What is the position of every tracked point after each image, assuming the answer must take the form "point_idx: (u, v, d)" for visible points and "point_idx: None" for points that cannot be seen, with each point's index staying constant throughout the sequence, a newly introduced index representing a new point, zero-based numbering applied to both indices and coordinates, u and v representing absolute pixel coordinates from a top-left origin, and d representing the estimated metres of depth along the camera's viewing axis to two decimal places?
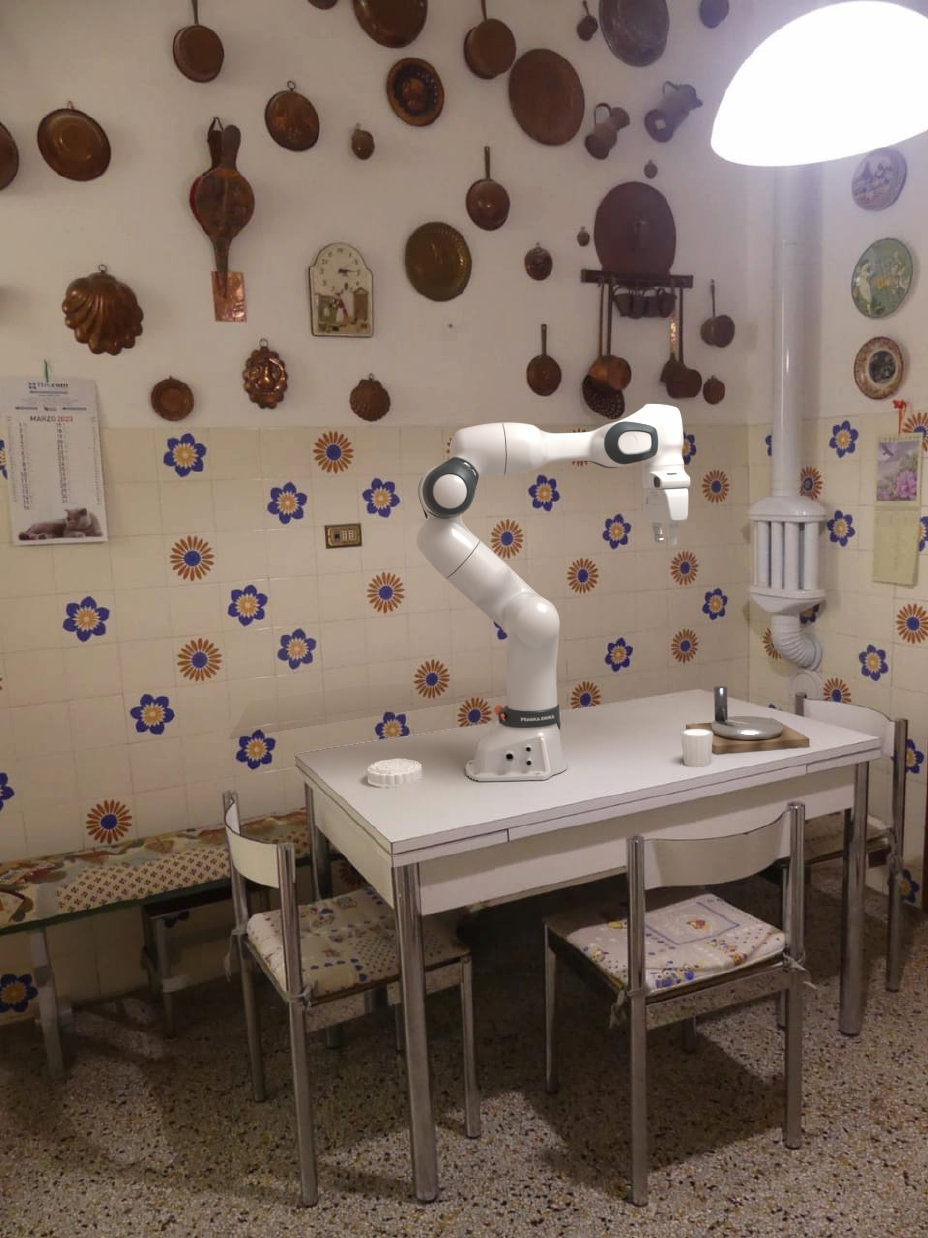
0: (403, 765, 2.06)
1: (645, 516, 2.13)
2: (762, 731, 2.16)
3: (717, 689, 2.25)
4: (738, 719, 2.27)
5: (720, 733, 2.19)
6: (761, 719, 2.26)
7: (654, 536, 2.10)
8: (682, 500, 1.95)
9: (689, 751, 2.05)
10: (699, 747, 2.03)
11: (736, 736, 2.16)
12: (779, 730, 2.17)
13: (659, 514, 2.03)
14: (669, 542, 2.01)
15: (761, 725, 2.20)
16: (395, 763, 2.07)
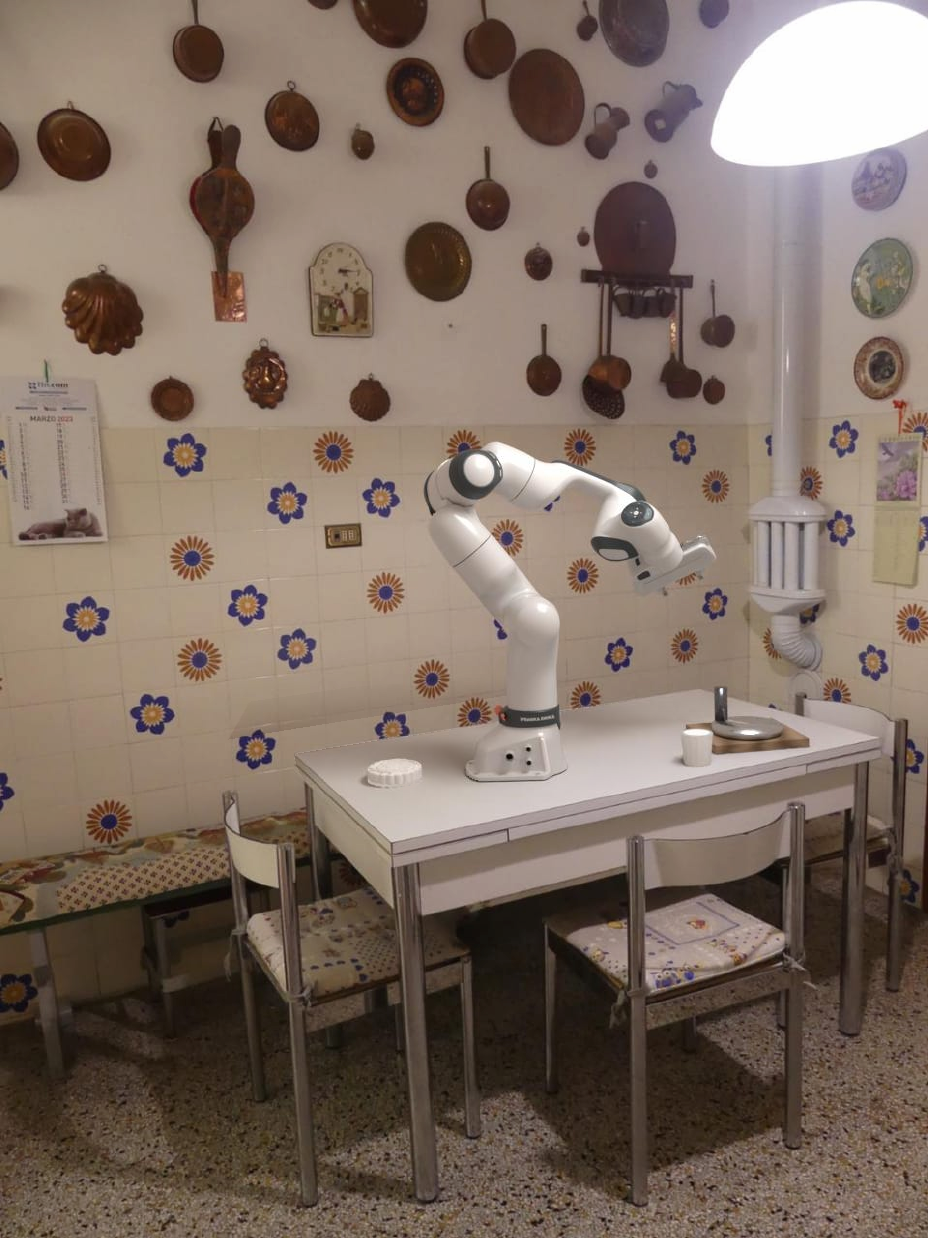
0: (403, 765, 2.06)
1: None
2: (762, 731, 2.16)
3: (717, 689, 2.25)
4: (738, 719, 2.27)
5: (720, 733, 2.19)
6: (761, 719, 2.26)
7: None
8: None
9: (689, 751, 2.05)
10: (699, 747, 2.03)
11: (736, 736, 2.16)
12: (779, 730, 2.17)
13: None
14: None
15: (761, 725, 2.20)
16: (395, 763, 2.07)
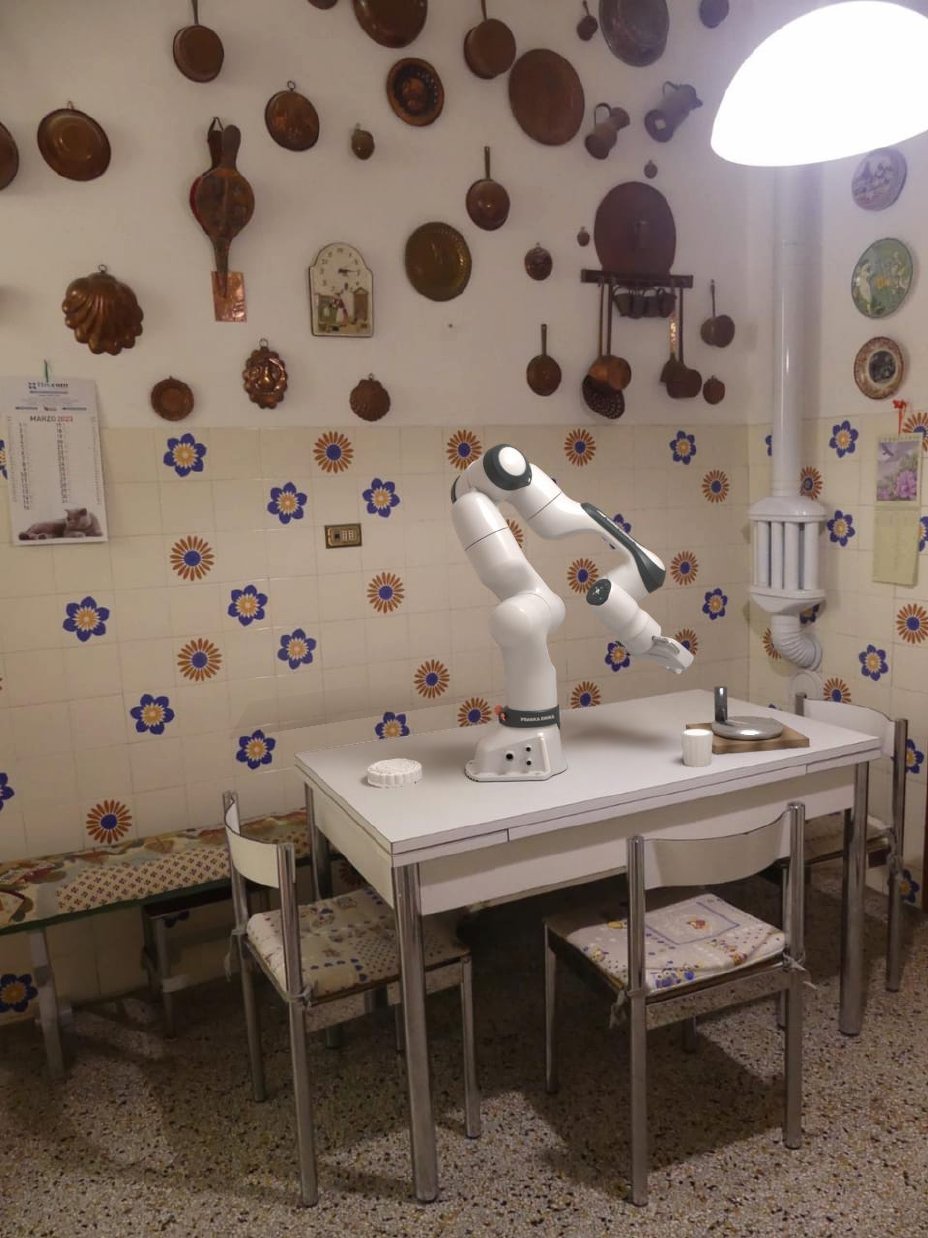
0: (403, 765, 2.06)
1: None
2: (762, 731, 2.16)
3: (717, 689, 2.25)
4: (738, 719, 2.27)
5: (720, 733, 2.19)
6: (761, 719, 2.26)
7: None
8: None
9: (689, 751, 2.05)
10: (699, 747, 2.03)
11: (736, 736, 2.16)
12: (779, 730, 2.17)
13: None
14: None
15: (761, 725, 2.20)
16: (395, 763, 2.07)
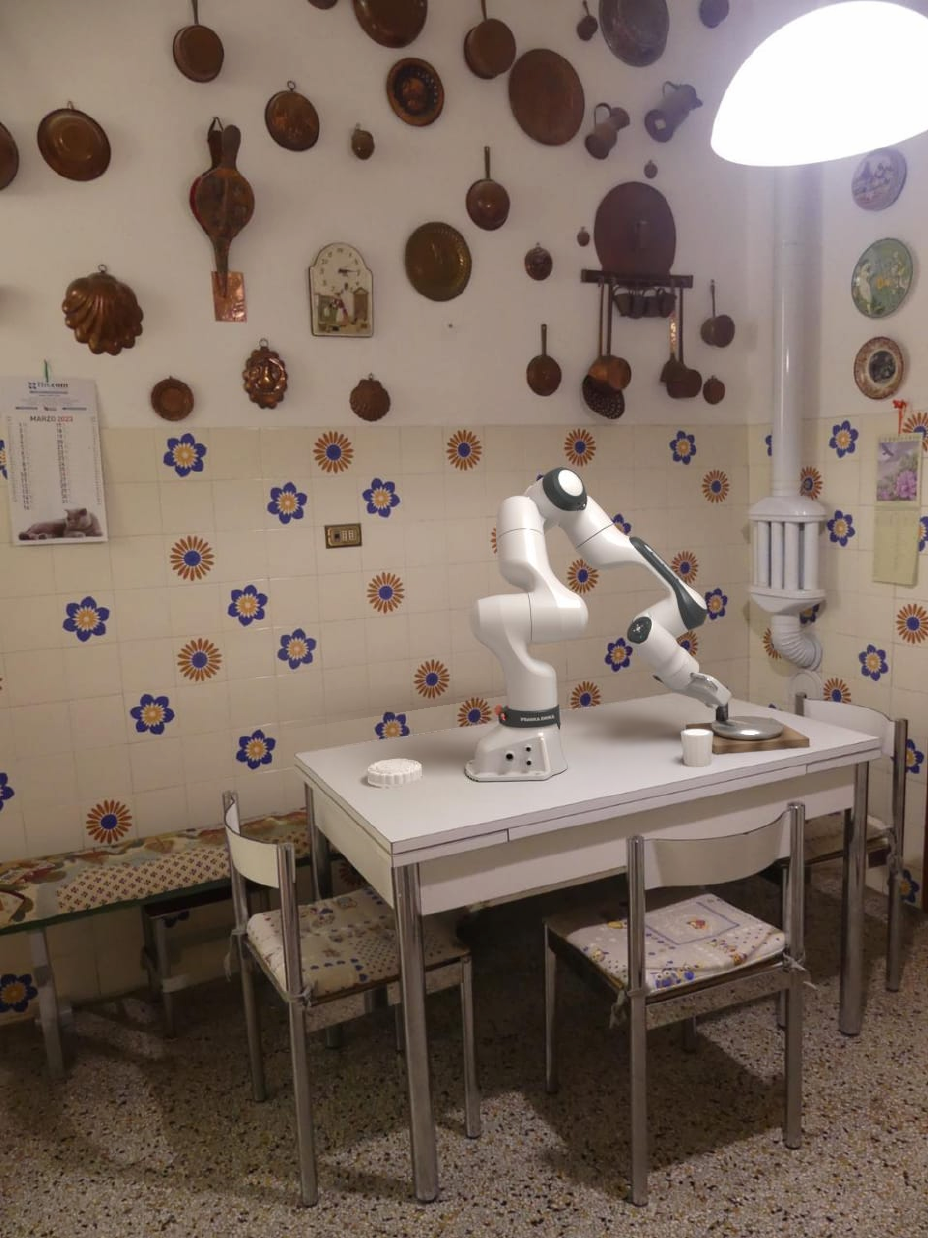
0: (403, 765, 2.06)
1: None
2: (761, 731, 2.15)
3: None
4: (739, 719, 2.27)
5: (719, 733, 2.19)
6: (762, 719, 2.25)
7: None
8: None
9: (689, 751, 2.05)
10: (699, 747, 2.03)
11: (735, 735, 2.16)
12: (778, 730, 2.16)
13: None
14: None
15: (761, 725, 2.20)
16: (395, 763, 2.07)
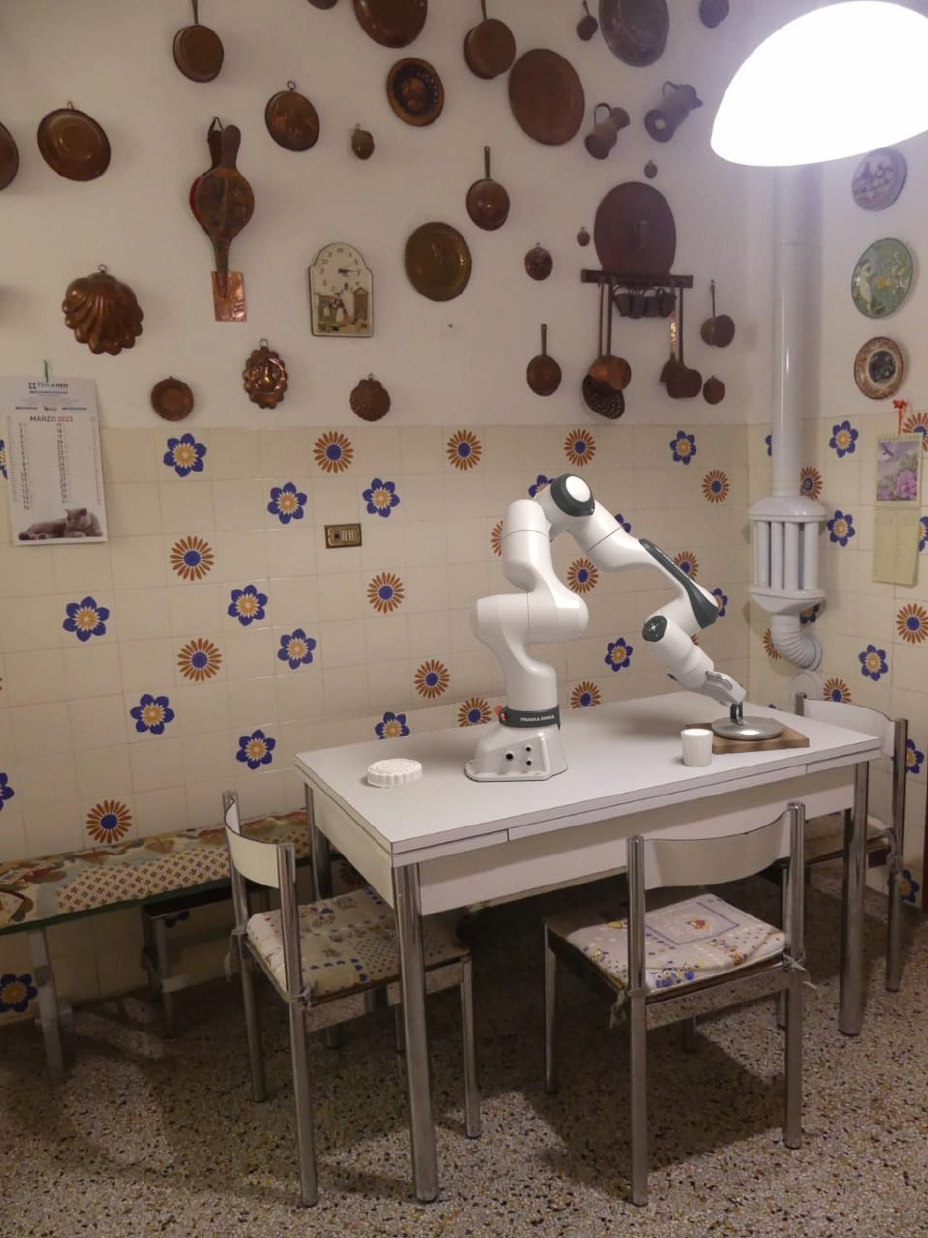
0: (403, 765, 2.06)
1: None
2: (743, 731, 2.16)
3: None
4: (751, 719, 2.26)
5: None
6: (771, 722, 2.22)
7: None
8: None
9: (689, 751, 2.05)
10: (699, 747, 2.03)
11: (718, 732, 2.19)
12: (763, 734, 2.14)
13: None
14: None
15: (756, 727, 2.19)
16: (395, 763, 2.07)
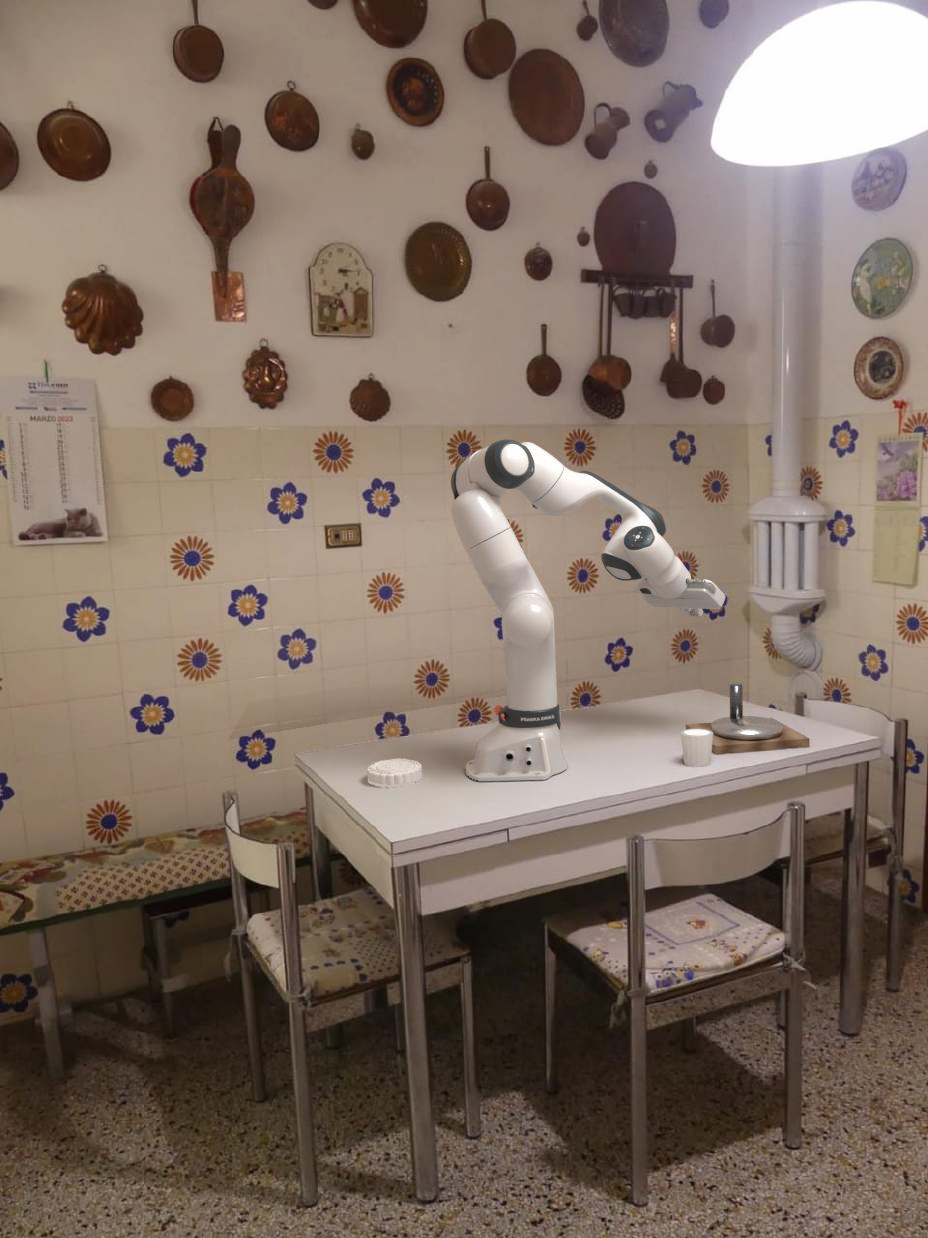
0: (403, 765, 2.06)
1: None
2: (743, 731, 2.16)
3: (730, 686, 2.28)
4: (751, 719, 2.26)
5: None
6: (771, 722, 2.22)
7: None
8: None
9: (689, 751, 2.05)
10: (699, 747, 2.03)
11: (718, 732, 2.19)
12: (763, 734, 2.14)
13: None
14: None
15: (756, 727, 2.19)
16: (395, 763, 2.07)
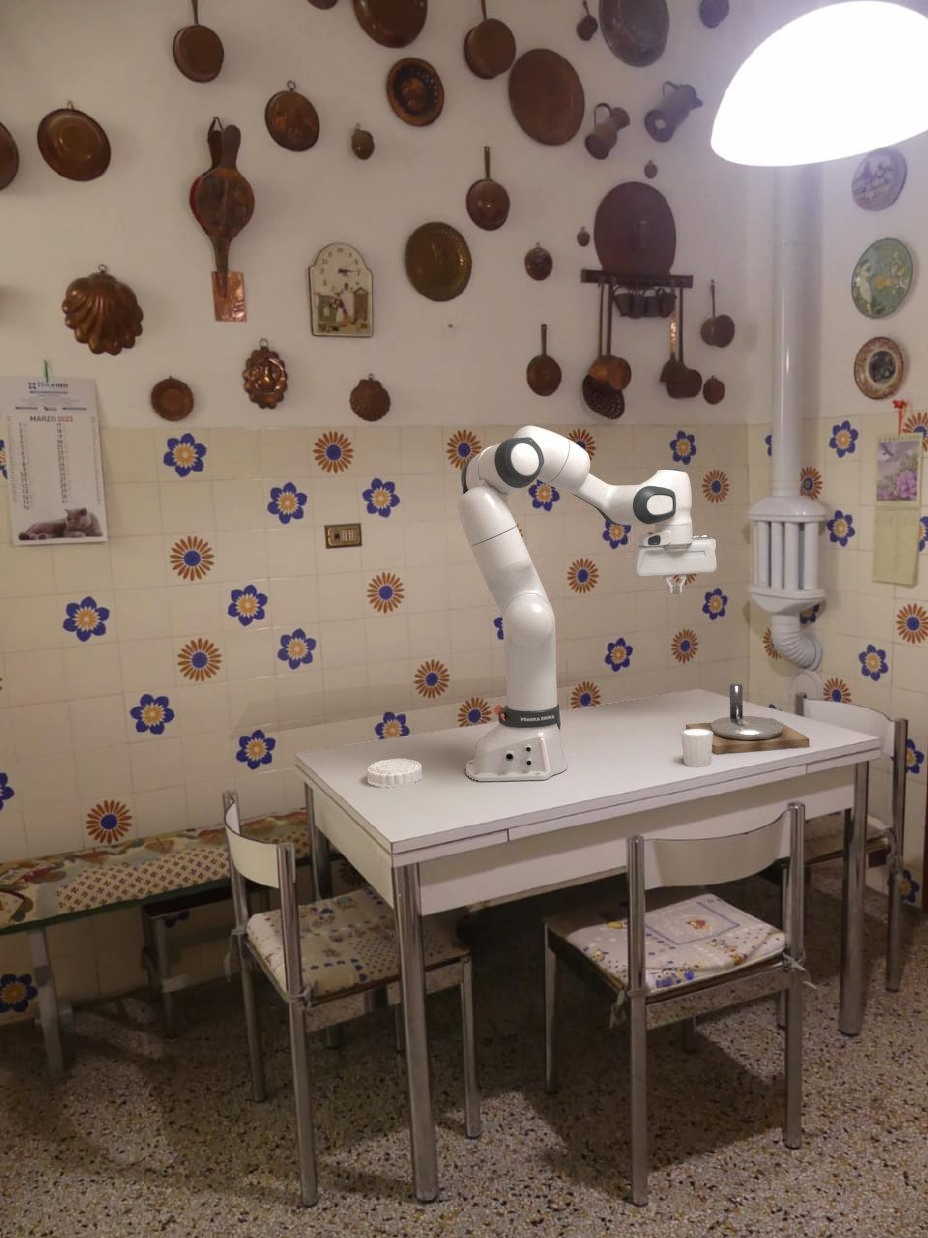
0: (403, 765, 2.06)
1: None
2: (743, 731, 2.16)
3: (730, 686, 2.28)
4: (751, 719, 2.26)
5: None
6: (771, 722, 2.22)
7: None
8: (636, 557, 2.28)
9: (689, 751, 2.05)
10: (699, 747, 2.03)
11: (718, 732, 2.19)
12: (763, 734, 2.14)
13: None
14: (668, 590, 2.31)
15: (756, 727, 2.19)
16: (395, 763, 2.07)
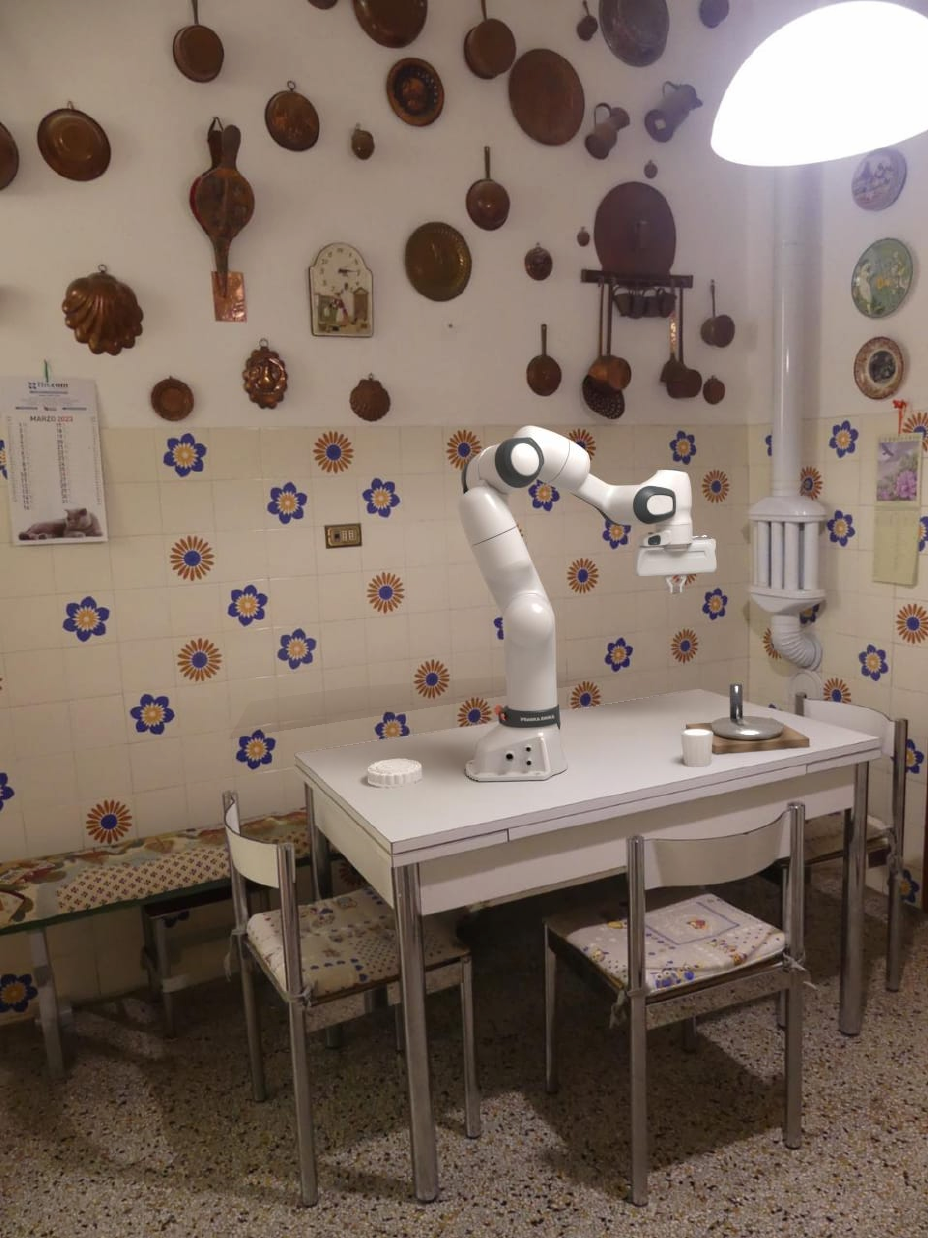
0: (403, 765, 2.06)
1: None
2: (743, 731, 2.16)
3: (730, 686, 2.28)
4: (751, 719, 2.26)
5: None
6: (771, 722, 2.22)
7: None
8: (636, 557, 2.27)
9: (689, 751, 2.05)
10: (699, 747, 2.03)
11: (718, 732, 2.19)
12: (763, 734, 2.14)
13: None
14: (668, 591, 2.31)
15: (756, 727, 2.19)
16: (395, 763, 2.07)
